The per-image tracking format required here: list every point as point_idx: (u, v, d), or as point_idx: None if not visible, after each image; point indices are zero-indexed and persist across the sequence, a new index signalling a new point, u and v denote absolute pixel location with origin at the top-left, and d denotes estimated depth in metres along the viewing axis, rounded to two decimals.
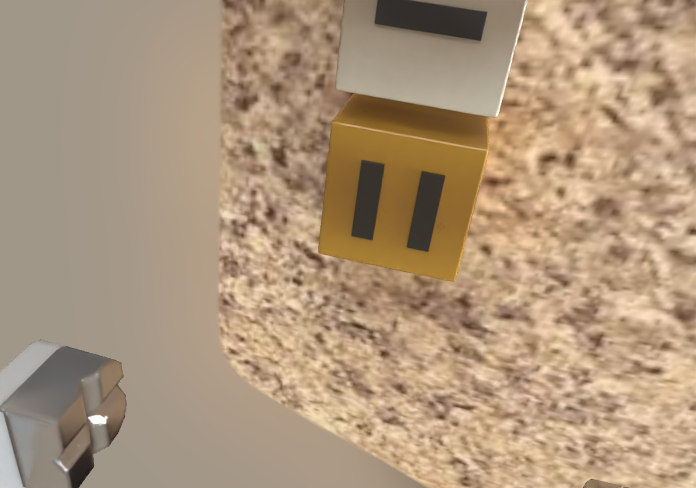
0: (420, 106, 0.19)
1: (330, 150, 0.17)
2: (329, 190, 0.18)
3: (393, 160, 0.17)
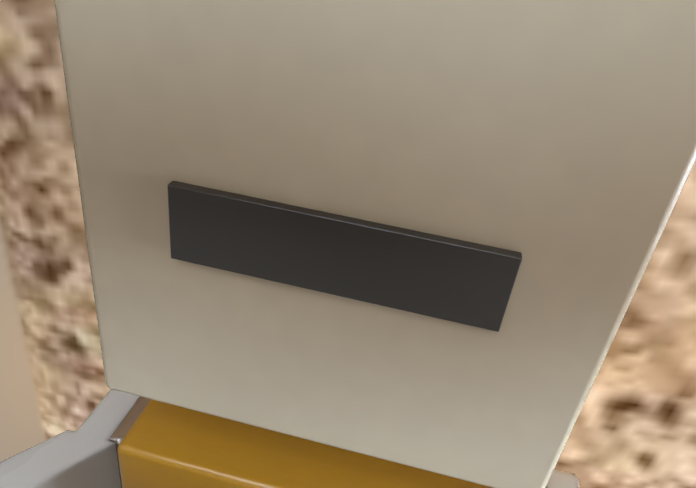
0: None
1: None
2: None
3: None
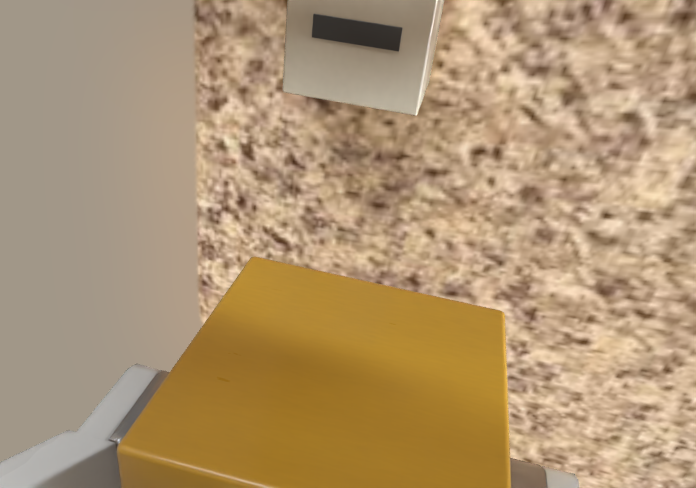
0: (360, 336, 0.09)
1: None
2: None
3: None
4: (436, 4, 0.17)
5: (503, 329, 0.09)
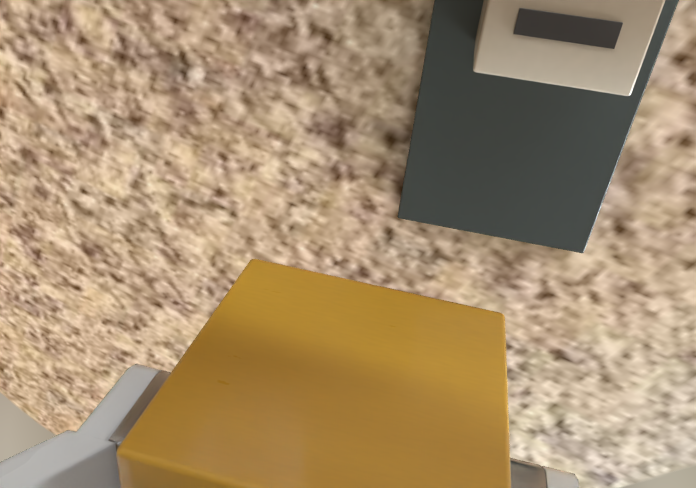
0: (360, 339, 0.09)
1: None
2: None
3: None
4: None
5: (503, 332, 0.09)
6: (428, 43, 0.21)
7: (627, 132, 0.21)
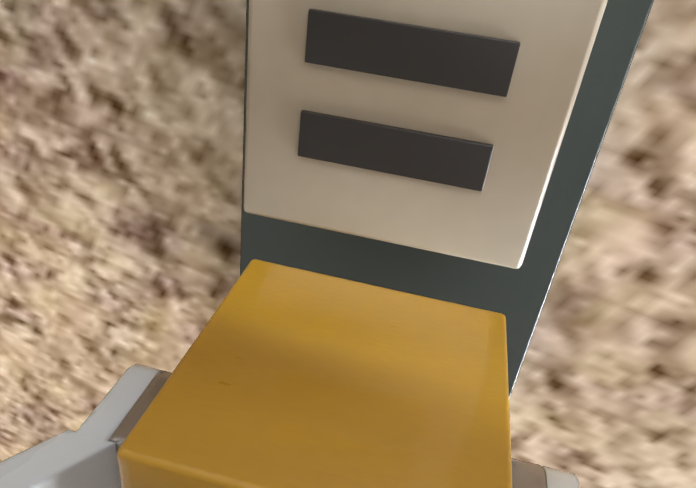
0: (361, 340, 0.09)
1: None
2: None
3: None
4: None
5: (504, 332, 0.09)
6: (244, 126, 0.14)
7: (554, 267, 0.14)
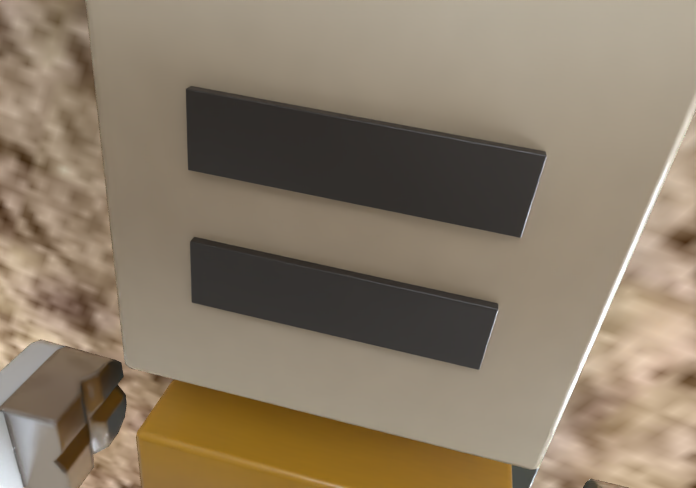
0: None
1: (143, 481, 0.07)
2: None
3: None
4: None
5: None
6: None
7: None
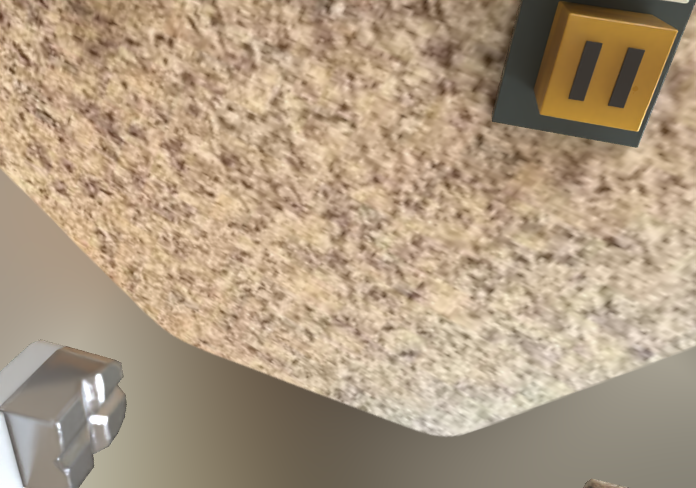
0: (612, 12, 0.27)
1: (564, 34, 0.26)
2: (558, 64, 0.26)
3: (609, 40, 0.25)
4: None
5: None
6: None
7: (676, 47, 0.29)
